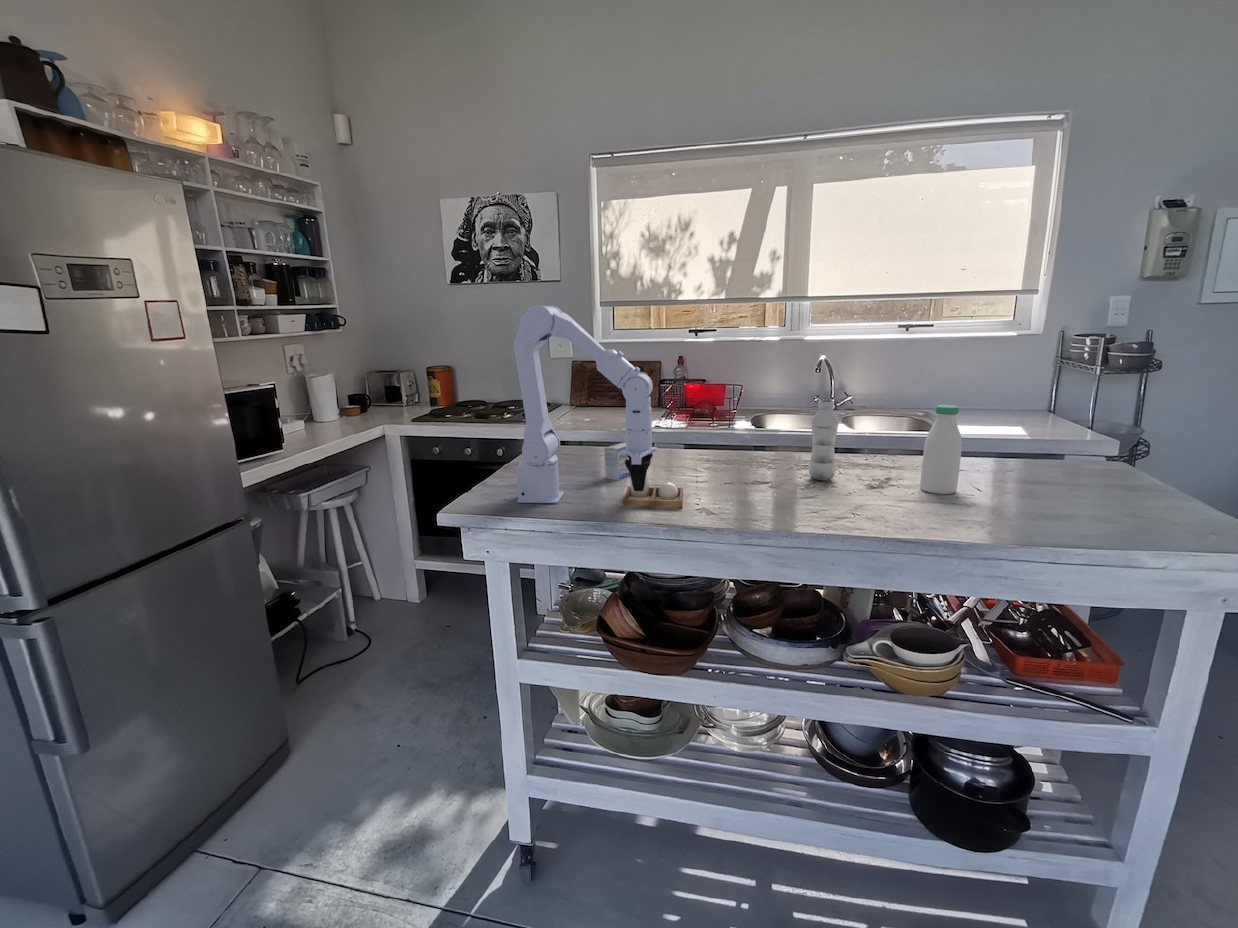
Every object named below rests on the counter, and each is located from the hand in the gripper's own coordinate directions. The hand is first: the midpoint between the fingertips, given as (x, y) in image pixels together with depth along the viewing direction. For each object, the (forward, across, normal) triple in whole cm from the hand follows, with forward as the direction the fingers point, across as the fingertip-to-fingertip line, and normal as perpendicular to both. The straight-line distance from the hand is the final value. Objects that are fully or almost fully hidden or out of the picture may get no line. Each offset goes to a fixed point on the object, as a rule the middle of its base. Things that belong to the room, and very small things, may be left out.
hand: (639, 487), depth 138 cm
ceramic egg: (+3, 0, -6) cm, 7 cm away
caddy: (+4, 0, -3) cm, 5 cm away
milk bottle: (+4, +13, -69) cm, 71 cm away
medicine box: (+4, +21, +7) cm, 22 cm away
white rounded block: (+2, 0, 0) cm, 2 cm away
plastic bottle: (+4, +21, -44) cm, 49 cm away
